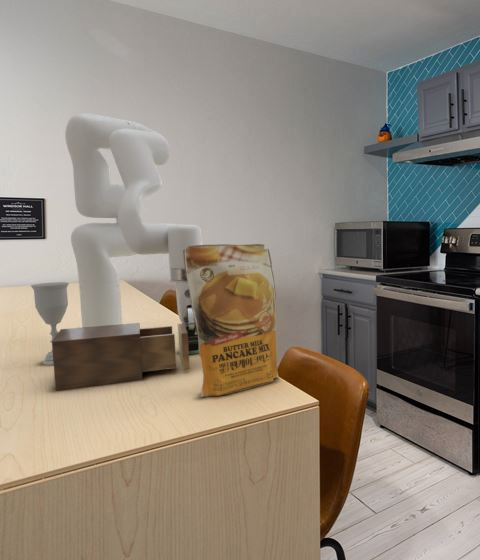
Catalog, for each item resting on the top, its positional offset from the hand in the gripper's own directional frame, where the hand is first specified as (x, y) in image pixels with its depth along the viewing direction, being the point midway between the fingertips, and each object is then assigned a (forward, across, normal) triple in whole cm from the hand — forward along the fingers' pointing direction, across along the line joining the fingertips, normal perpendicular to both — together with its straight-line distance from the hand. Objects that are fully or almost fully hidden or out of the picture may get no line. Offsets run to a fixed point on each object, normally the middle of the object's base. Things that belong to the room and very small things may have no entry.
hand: (190, 347), depth 126 cm
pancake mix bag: (+1, -33, -6) cm, 34 cm away
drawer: (0, -13, +6) cm, 14 cm away
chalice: (+1, +5, +28) cm, 28 cm away
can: (+1, 0, 0) cm, 1 cm away
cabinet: (+1, -13, +18) cm, 22 cm away
